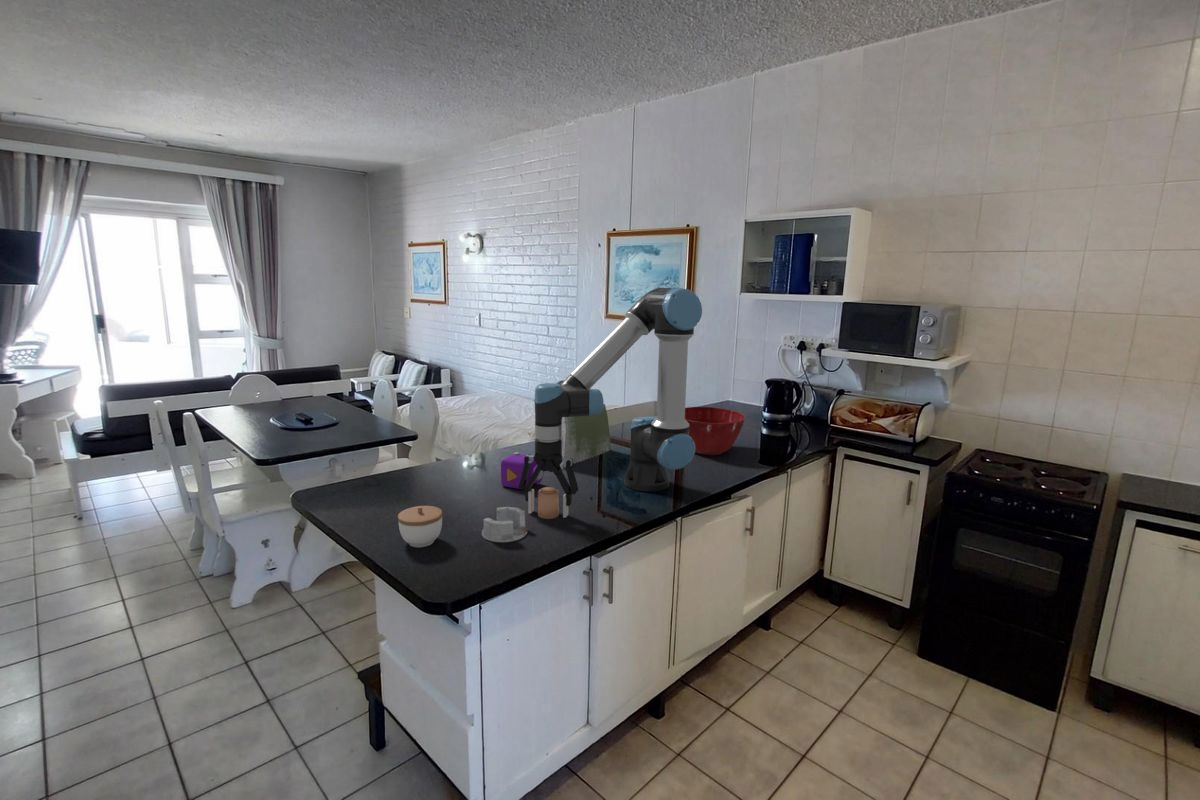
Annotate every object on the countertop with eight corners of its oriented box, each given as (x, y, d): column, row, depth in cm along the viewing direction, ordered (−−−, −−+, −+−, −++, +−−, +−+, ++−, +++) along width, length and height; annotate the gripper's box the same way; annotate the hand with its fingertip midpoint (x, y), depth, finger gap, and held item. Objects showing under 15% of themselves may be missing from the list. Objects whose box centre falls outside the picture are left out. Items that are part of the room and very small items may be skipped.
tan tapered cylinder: (561, 512, 165) (561, 487, 163) (555, 519, 159) (555, 494, 157) (542, 509, 166) (542, 485, 165) (534, 517, 160) (534, 492, 159)
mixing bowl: (750, 461, 217) (753, 422, 214) (676, 460, 217) (678, 421, 214) (734, 442, 244) (736, 407, 241) (668, 440, 245) (670, 406, 242)
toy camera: (538, 492, 180) (538, 462, 178) (498, 489, 182) (497, 459, 180) (548, 481, 190) (548, 453, 188) (509, 478, 193) (509, 450, 191)
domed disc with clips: (534, 526, 154) (533, 509, 153) (517, 545, 143) (517, 526, 142) (493, 521, 157) (493, 504, 156) (473, 539, 146) (473, 521, 145)
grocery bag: (584, 444, 236) (584, 390, 232) (611, 450, 229) (613, 394, 224) (533, 462, 211) (533, 402, 206) (563, 470, 203) (563, 407, 198)
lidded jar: (405, 533, 148) (403, 499, 147) (446, 532, 149) (445, 499, 147) (394, 552, 138) (392, 516, 136) (438, 551, 139) (437, 515, 137)
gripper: (590, 438, 159) (589, 513, 163) (516, 432, 164) (517, 504, 169) (583, 445, 152) (582, 523, 156) (505, 438, 157) (506, 514, 161)
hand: (548, 513), depth 162 cm, fingers open, 10 cm apart
